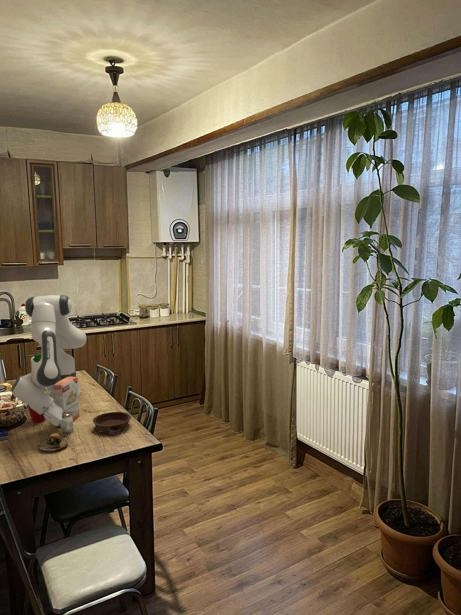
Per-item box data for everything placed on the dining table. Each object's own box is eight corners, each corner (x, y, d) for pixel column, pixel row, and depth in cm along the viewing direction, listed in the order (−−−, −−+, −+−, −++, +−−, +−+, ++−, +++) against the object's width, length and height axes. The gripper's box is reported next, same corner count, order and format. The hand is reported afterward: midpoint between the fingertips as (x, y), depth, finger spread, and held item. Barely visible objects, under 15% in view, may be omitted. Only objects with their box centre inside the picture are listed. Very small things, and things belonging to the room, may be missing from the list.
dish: (125, 417, 231) (125, 407, 230) (136, 433, 211) (136, 422, 211) (89, 423, 224) (89, 413, 223) (97, 440, 204) (97, 429, 203)
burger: (34, 448, 197) (33, 431, 196) (60, 439, 206) (59, 423, 205) (45, 457, 189) (44, 439, 188) (73, 447, 197) (72, 431, 196)
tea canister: (58, 432, 212) (57, 414, 211) (69, 428, 217) (68, 410, 215) (64, 435, 209) (63, 417, 208) (75, 431, 213) (74, 413, 212)
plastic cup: (22, 425, 222) (20, 401, 220) (32, 416, 232) (30, 394, 231) (44, 425, 221) (42, 401, 220) (53, 416, 232) (52, 393, 230)
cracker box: (65, 427, 218) (62, 385, 215) (54, 426, 220) (51, 384, 217) (80, 416, 232) (78, 376, 229) (69, 415, 233) (67, 376, 230)
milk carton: (31, 387, 280) (28, 355, 277) (36, 383, 289) (34, 352, 286) (46, 387, 280) (43, 355, 277) (50, 382, 289) (48, 351, 286)
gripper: (47, 406, 198) (72, 425, 203) (49, 392, 218) (72, 409, 222) (37, 417, 198) (62, 436, 202) (40, 402, 217) (63, 419, 221)
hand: (68, 422), depth 212 cm, fingers closed on tea canister, 5 cm apart
